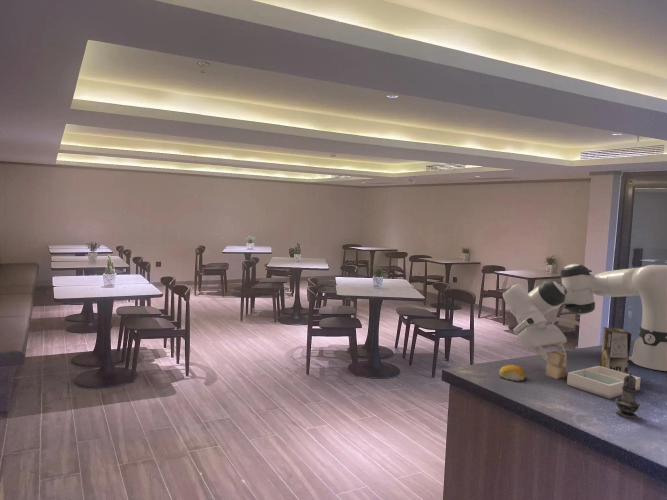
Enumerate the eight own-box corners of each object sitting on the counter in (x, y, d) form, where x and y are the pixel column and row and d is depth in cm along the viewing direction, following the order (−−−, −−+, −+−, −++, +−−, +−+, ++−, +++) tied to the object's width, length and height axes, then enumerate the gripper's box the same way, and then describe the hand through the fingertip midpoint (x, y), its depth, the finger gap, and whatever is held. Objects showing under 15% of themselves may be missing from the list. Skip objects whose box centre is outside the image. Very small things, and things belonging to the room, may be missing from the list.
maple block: (554, 373, 170) (556, 350, 170) (564, 376, 167) (567, 354, 166) (545, 375, 168) (547, 352, 167) (556, 378, 164) (558, 355, 164)
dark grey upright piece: (644, 418, 133) (648, 375, 133) (628, 420, 131) (632, 376, 131) (624, 409, 139) (628, 368, 138) (609, 411, 137) (613, 369, 136)
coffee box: (627, 379, 167) (632, 333, 166) (607, 377, 169) (611, 331, 168) (618, 371, 176) (622, 328, 175) (598, 369, 178) (602, 326, 176)
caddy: (597, 377, 169) (598, 365, 168) (639, 389, 157) (640, 377, 157) (566, 384, 159) (567, 372, 158) (608, 398, 147) (610, 385, 147)
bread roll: (525, 375, 167) (526, 364, 167) (524, 383, 159) (525, 371, 158) (500, 371, 170) (501, 360, 170) (497, 378, 162) (498, 366, 162)
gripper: (545, 326, 182) (567, 359, 175) (509, 330, 171) (531, 366, 164) (557, 317, 178) (580, 350, 171) (521, 321, 167) (544, 356, 160)
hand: (556, 358), depth 167 cm, fingers open, 8 cm apart
